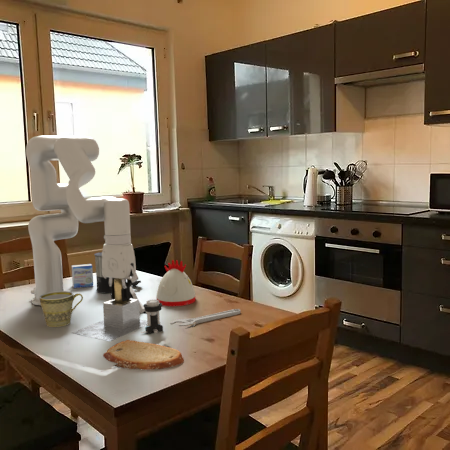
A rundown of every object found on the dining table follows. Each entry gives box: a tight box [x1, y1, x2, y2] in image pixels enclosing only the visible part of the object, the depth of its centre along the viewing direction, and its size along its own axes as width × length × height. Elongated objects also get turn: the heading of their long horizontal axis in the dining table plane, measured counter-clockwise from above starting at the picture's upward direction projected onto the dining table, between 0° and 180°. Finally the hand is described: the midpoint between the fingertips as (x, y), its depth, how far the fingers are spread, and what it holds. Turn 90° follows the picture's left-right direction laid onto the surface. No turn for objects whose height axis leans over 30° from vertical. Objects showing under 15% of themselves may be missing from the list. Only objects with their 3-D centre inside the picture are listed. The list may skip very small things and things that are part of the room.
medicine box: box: [71, 263, 94, 289], centre depth 210 cm, size 8×4×9 cm, turn 111°
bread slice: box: [102, 339, 185, 371], centre depth 133 cm, size 18×18×4 cm
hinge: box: [130, 286, 147, 315], centre depth 176 cm, size 17×5×10 cm, turn 21°
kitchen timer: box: [155, 259, 196, 307], centre depth 185 cm, size 14×14×15 cm
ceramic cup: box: [39, 290, 84, 328], centre depth 160 cm, size 13×10×10 cm
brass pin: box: [114, 278, 127, 304], centre depth 157 cm, size 4×4×10 cm
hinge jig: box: [71, 298, 147, 342], centre depth 155 cm, size 15×19×8 cm
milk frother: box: [94, 251, 142, 294], centre depth 203 cm, size 14×16×15 cm
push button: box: [140, 299, 164, 335], centre depth 150 cm, size 7×5×10 cm
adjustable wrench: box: [169, 308, 241, 330], centre depth 163 cm, size 25×6×2 cm, turn 120°
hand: (120, 298), depth 158 cm, fingers closed on brass pin, 3 cm apart
